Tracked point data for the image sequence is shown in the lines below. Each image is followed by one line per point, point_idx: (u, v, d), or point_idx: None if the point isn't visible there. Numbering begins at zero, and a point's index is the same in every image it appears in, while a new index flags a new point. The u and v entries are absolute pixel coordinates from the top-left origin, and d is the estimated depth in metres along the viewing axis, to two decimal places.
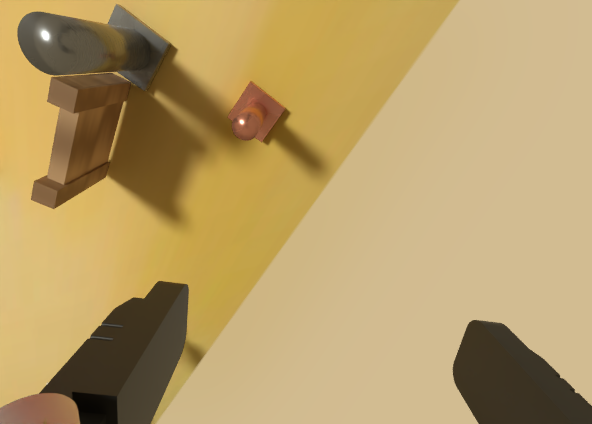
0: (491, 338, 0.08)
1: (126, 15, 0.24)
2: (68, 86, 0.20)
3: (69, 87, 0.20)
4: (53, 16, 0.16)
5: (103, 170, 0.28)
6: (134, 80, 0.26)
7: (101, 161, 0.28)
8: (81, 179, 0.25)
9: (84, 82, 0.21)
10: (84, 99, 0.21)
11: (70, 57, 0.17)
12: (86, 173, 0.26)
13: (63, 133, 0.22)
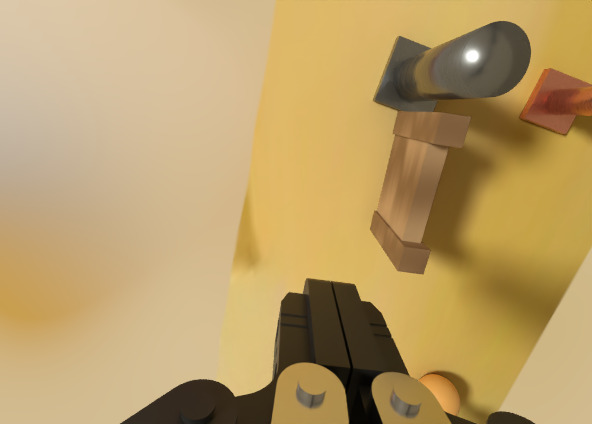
0: (334, 295, 0.09)
1: (410, 44, 0.22)
2: (461, 116, 0.16)
3: (461, 117, 0.16)
4: (506, 23, 0.13)
5: None
6: None
7: None
8: None
9: None
10: None
11: (521, 66, 0.14)
12: None
13: (427, 180, 0.18)
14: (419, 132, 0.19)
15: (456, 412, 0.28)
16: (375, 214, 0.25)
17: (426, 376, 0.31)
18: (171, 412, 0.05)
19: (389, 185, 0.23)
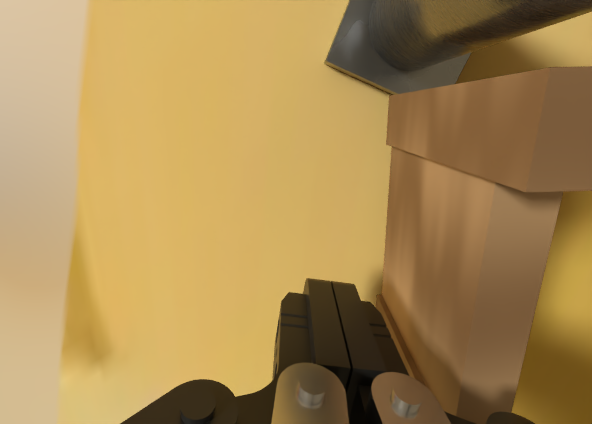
0: (334, 295, 0.09)
1: None
2: None
3: None
4: None
5: None
6: None
7: None
8: None
9: None
10: None
11: None
12: None
13: (504, 286, 0.06)
14: (454, 145, 0.06)
15: None
16: (379, 305, 0.13)
17: None
18: (171, 412, 0.05)
19: (397, 255, 0.11)
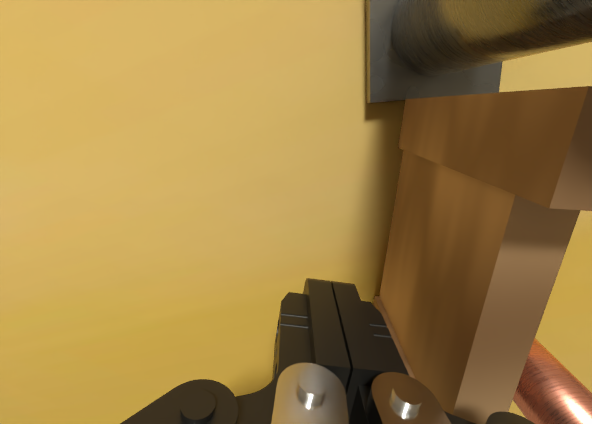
0: (334, 295, 0.09)
1: None
2: None
3: None
4: None
5: None
6: (377, 71, 0.11)
7: None
8: None
9: None
10: None
11: None
12: None
13: (512, 299, 0.06)
14: (474, 155, 0.06)
15: None
16: (376, 306, 0.13)
17: None
18: (171, 412, 0.05)
19: (400, 258, 0.11)
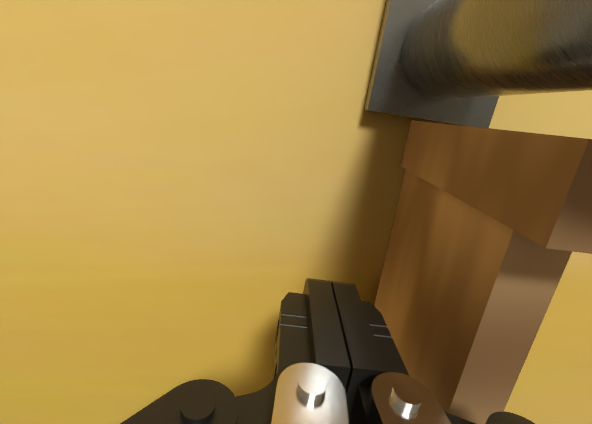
0: (334, 294, 0.09)
1: None
2: None
3: None
4: None
5: None
6: (381, 80, 0.11)
7: None
8: None
9: None
10: None
11: None
12: None
13: (505, 327, 0.06)
14: (476, 186, 0.07)
15: None
16: None
17: None
18: (171, 412, 0.05)
19: (396, 275, 0.11)
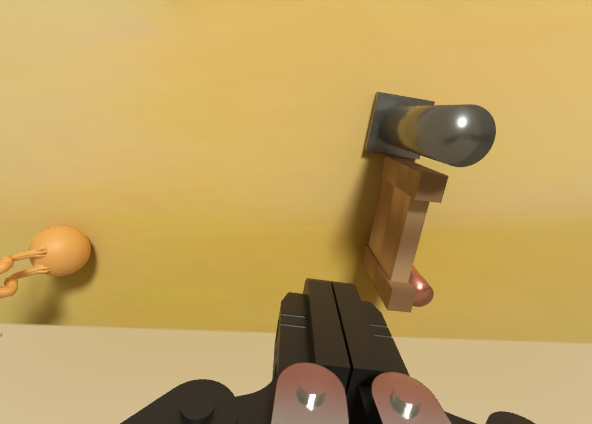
0: (335, 295, 0.09)
1: None
2: (439, 176, 0.18)
3: (439, 176, 0.18)
4: (493, 136, 0.16)
5: None
6: (371, 138, 0.25)
7: None
8: None
9: (423, 169, 0.20)
10: None
11: (460, 161, 0.16)
12: None
13: (411, 228, 0.20)
14: (403, 184, 0.21)
15: (53, 271, 0.24)
16: (366, 249, 0.27)
17: (83, 234, 0.26)
18: (171, 412, 0.05)
19: (379, 224, 0.25)
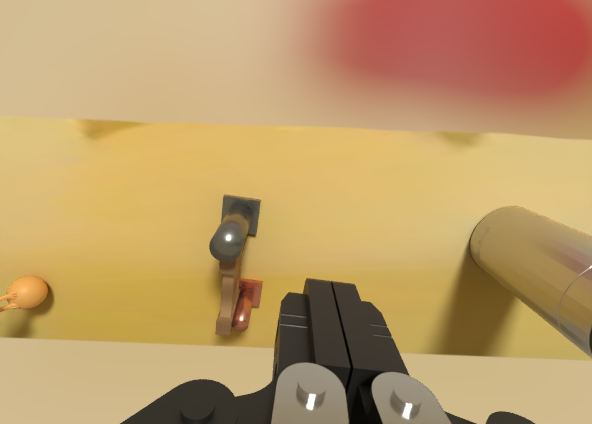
0: (335, 294, 0.09)
1: (257, 208, 0.38)
2: None
3: None
4: (241, 246, 0.30)
5: None
6: None
7: (237, 291, 0.40)
8: (234, 309, 0.38)
9: None
10: (236, 263, 0.34)
11: (226, 259, 0.30)
12: (235, 303, 0.38)
13: (226, 286, 0.34)
14: None
15: (21, 307, 0.38)
16: None
17: (43, 281, 0.40)
18: (171, 412, 0.05)
19: None
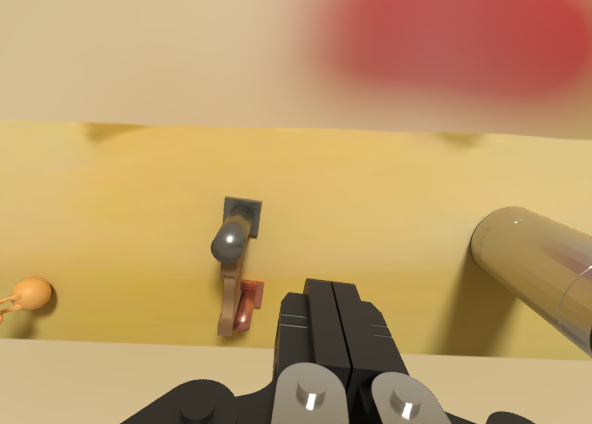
0: (335, 295, 0.09)
1: (258, 209, 0.39)
2: None
3: None
4: (242, 248, 0.30)
5: (240, 297, 0.41)
6: None
7: (239, 292, 0.40)
8: (236, 310, 0.38)
9: None
10: (238, 264, 0.34)
11: (227, 260, 0.30)
12: (236, 304, 0.38)
13: (228, 287, 0.35)
14: None
15: (25, 308, 0.39)
16: None
17: (46, 282, 0.41)
18: (171, 412, 0.05)
19: None
